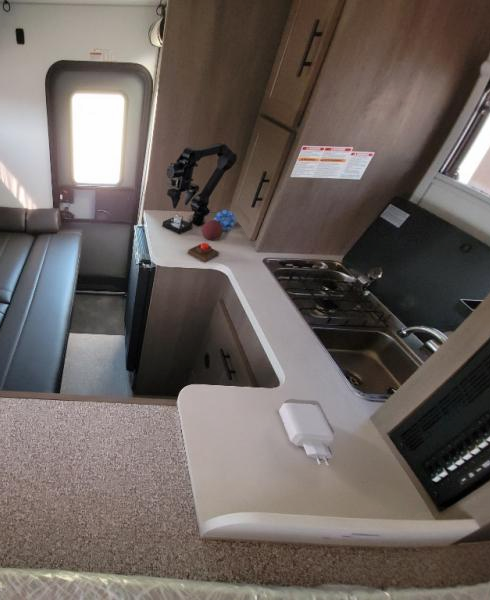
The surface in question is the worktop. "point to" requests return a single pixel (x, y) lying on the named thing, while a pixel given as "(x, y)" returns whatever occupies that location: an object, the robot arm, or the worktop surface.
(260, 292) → the worktop surface
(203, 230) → the decorative ball
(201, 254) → the block
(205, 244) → the power button
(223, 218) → the blue bumpy cluster
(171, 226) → the dial panel
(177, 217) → the dial
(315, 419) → the charger
